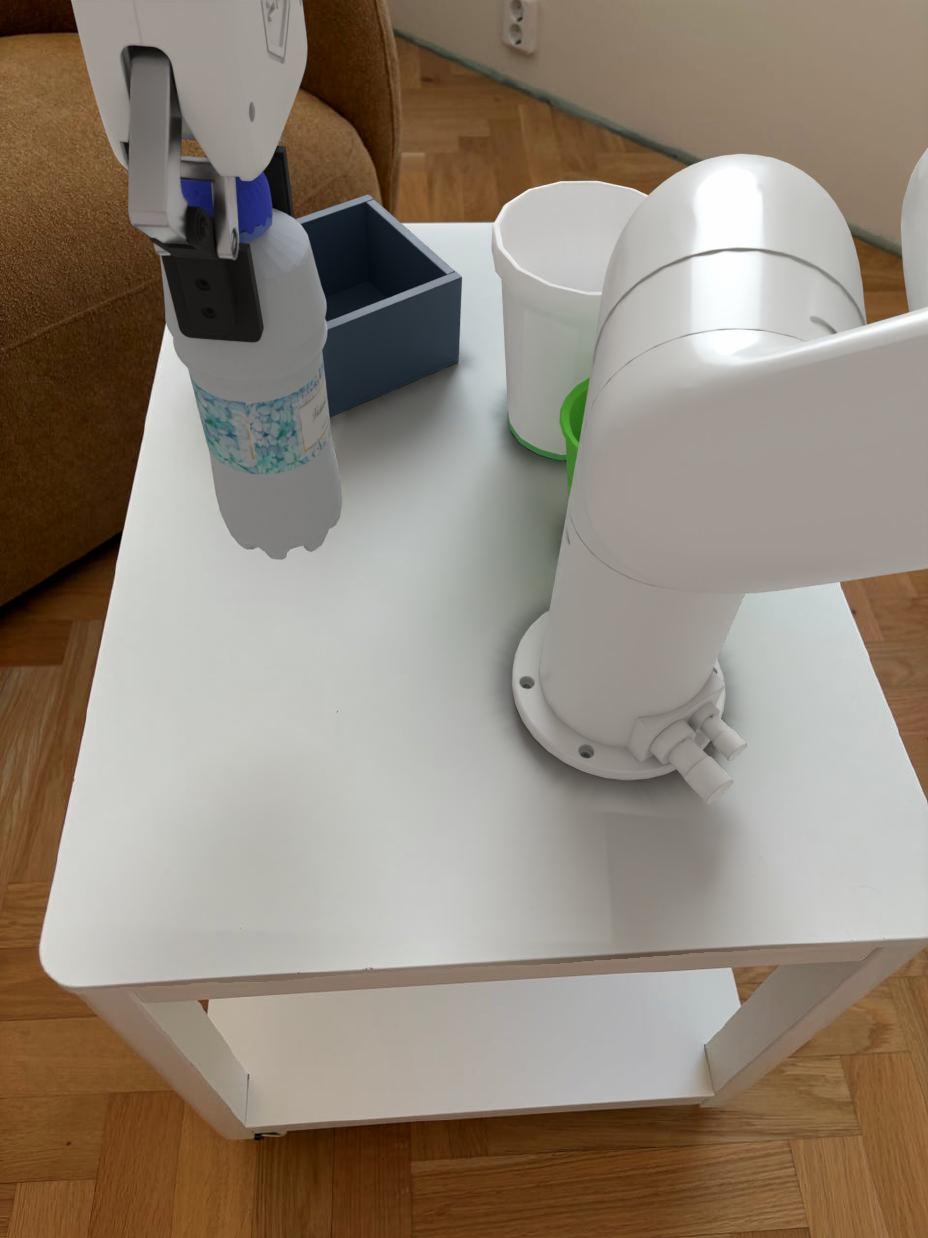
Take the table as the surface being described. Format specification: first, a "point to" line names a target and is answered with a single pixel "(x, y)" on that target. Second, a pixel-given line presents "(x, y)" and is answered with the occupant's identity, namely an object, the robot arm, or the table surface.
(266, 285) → the bottle
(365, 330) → the bin
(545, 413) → the cup
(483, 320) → the table surface
